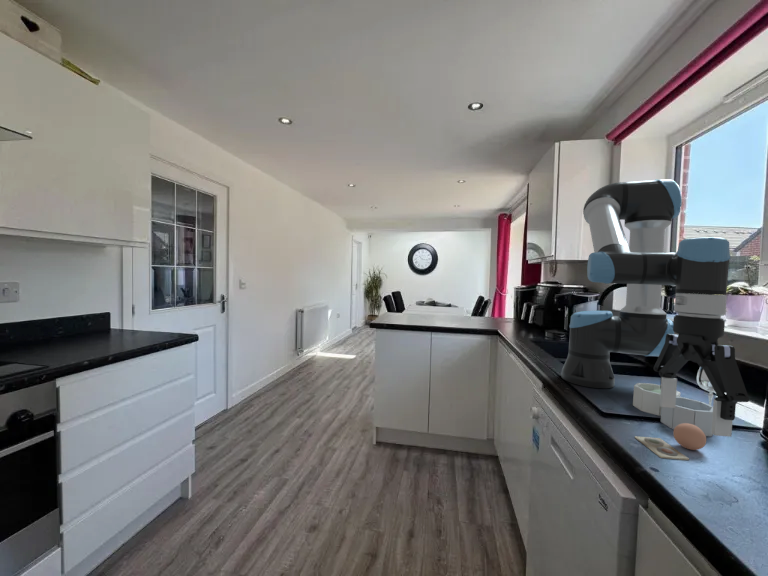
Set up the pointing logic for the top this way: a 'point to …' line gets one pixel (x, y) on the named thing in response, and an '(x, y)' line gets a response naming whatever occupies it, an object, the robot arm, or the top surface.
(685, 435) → the terracotta ball
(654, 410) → the white octagonal bowl
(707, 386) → the wineglass
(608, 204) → the robot arm
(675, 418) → the grey octagonal bowl
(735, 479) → the top surface
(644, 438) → the card
